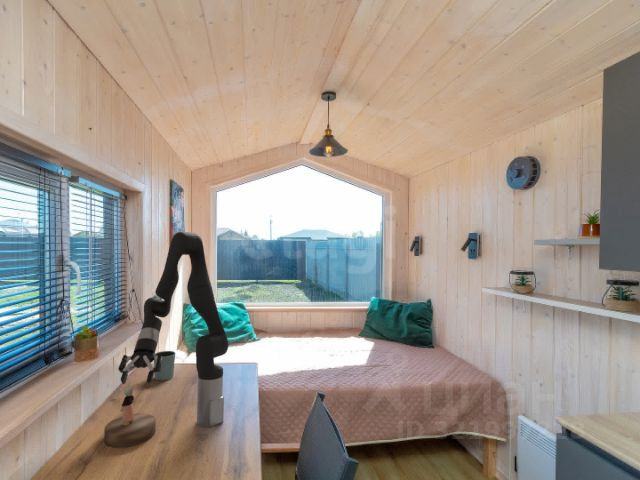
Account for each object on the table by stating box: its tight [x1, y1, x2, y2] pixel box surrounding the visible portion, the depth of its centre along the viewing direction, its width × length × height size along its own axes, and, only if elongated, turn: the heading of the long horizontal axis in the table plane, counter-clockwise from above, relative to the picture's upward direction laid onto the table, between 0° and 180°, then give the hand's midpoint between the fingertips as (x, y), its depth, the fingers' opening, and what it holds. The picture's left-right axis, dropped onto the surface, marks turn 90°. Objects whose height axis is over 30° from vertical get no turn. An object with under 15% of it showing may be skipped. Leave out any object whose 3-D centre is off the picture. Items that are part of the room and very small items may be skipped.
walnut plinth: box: [103, 412, 157, 449], centre depth 130 cm, size 16×16×4 cm
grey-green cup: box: [153, 350, 176, 382], centre depth 185 cm, size 10×10×12 cm
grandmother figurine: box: [119, 385, 135, 426], centre depth 131 cm, size 8×4×13 cm, turn 8°
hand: (135, 382), depth 133 cm, fingers open, 8 cm apart
